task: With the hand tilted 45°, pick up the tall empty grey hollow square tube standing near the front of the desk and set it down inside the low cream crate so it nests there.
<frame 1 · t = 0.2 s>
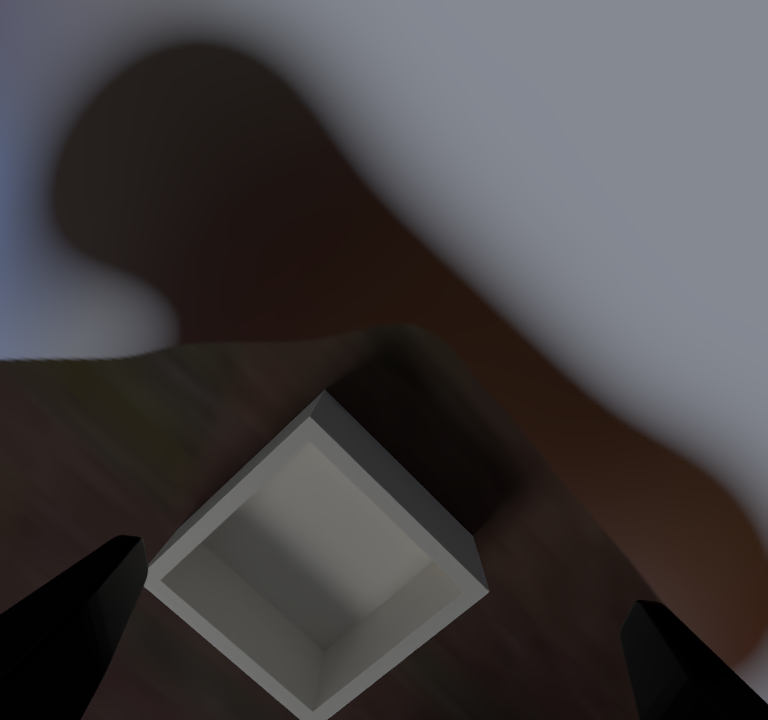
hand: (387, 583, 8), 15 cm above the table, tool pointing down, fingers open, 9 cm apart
cream crate: (325, 531, 25), on the table
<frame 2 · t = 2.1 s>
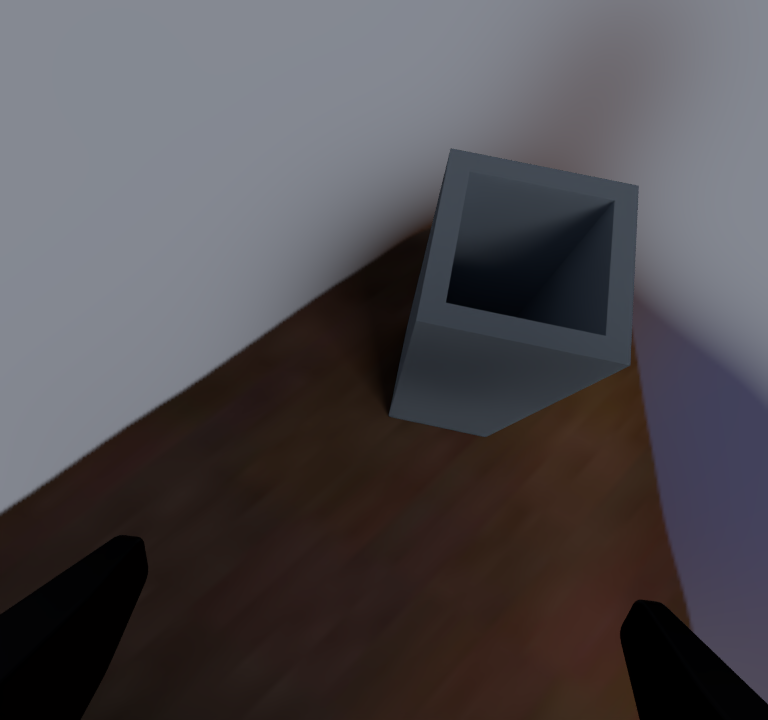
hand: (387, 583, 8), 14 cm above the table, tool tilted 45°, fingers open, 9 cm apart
grey hollow square tube: (445, 379, 24), on the table
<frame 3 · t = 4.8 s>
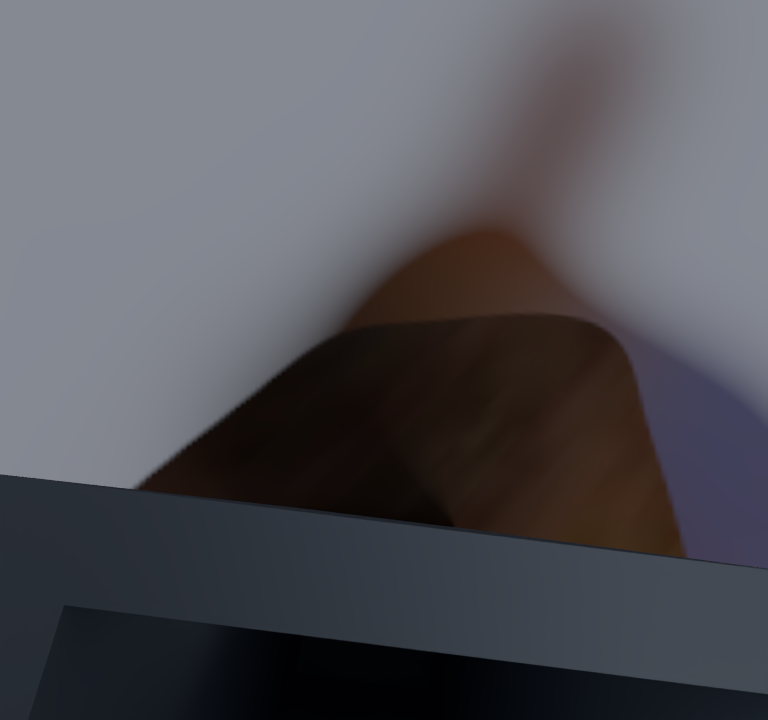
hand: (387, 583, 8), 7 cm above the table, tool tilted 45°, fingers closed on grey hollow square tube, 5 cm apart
grey hollow square tube: (370, 602, 14), on the table, touching gripper
when the fingers open (9 cm above the table, at t = 10.2 s): grey hollow square tube drops 1 cm, resting on cream crate.
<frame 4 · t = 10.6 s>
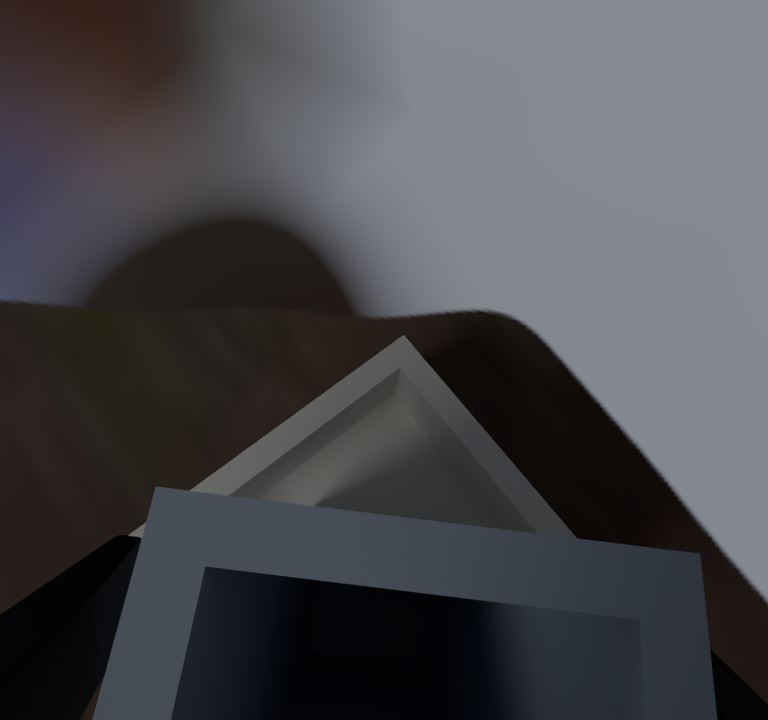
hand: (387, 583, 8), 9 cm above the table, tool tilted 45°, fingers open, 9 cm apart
cream crate: (370, 588, 16), on the table
grey hollow square tube: (371, 590, 16), point 1 cm above the table, touching cream crate
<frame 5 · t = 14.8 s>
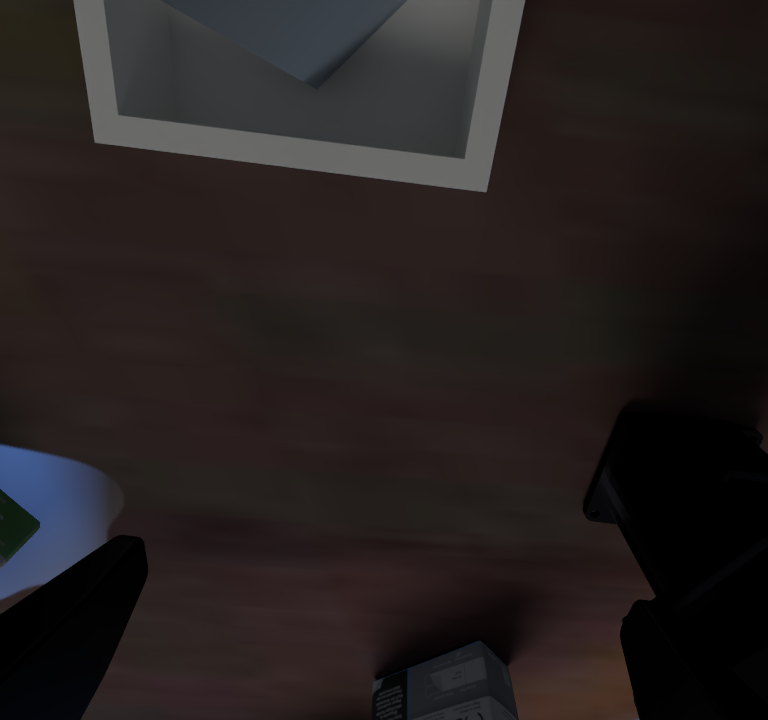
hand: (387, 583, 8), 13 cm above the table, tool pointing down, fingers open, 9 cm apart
label tape box: (440, 670, 31), on the table
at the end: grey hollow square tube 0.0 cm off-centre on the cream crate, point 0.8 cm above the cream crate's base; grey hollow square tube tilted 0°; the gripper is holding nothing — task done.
